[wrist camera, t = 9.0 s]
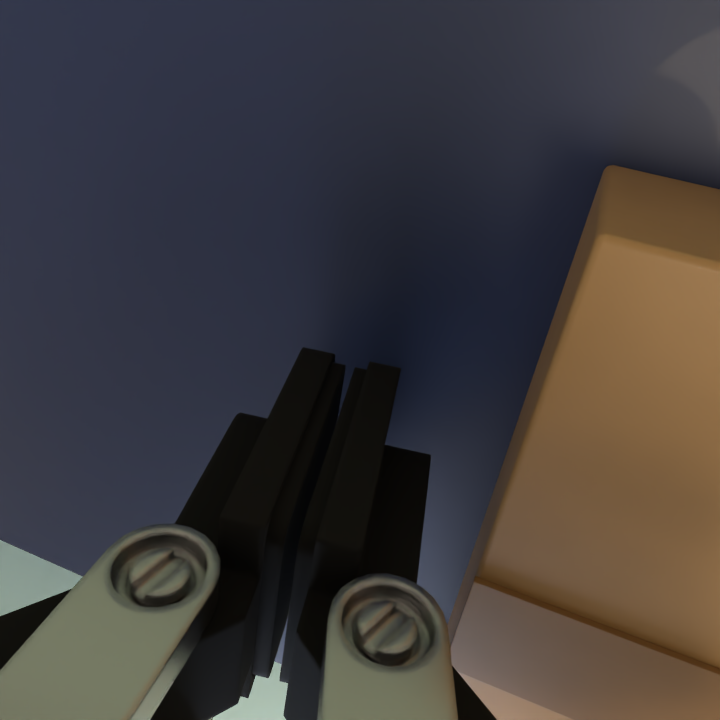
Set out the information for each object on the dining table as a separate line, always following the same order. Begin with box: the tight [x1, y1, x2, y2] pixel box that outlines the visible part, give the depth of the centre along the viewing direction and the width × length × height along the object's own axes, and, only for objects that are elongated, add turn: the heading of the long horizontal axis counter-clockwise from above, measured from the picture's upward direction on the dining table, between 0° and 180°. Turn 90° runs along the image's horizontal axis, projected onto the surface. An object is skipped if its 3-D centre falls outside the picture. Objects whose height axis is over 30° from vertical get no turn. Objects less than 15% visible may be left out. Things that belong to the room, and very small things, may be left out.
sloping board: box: [0, 0, 720, 664], centre depth 11 cm, size 22×16×6 cm
